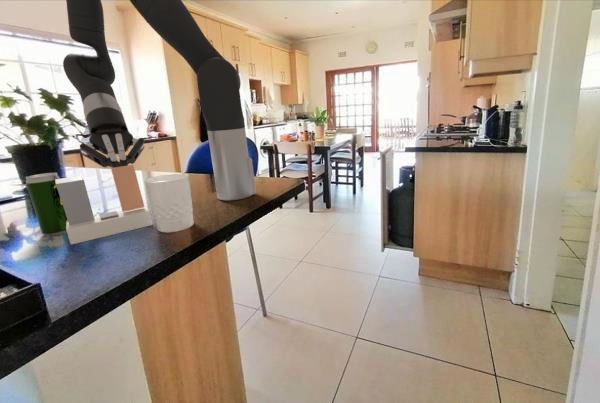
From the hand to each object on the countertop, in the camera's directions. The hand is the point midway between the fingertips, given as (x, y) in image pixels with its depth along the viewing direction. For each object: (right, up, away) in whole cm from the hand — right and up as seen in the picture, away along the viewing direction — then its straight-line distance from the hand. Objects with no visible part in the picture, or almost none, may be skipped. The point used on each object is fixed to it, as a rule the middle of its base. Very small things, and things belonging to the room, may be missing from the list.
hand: (123, 178), depth 66 cm
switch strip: (-1, -11, -3) cm, 11 cm away
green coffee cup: (-13, -11, -1) cm, 17 cm away
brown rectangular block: (+3, -7, -1) cm, 7 cm away
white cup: (+12, -10, -3) cm, 16 cm away
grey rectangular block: (-5, -8, -6) cm, 11 cm away
